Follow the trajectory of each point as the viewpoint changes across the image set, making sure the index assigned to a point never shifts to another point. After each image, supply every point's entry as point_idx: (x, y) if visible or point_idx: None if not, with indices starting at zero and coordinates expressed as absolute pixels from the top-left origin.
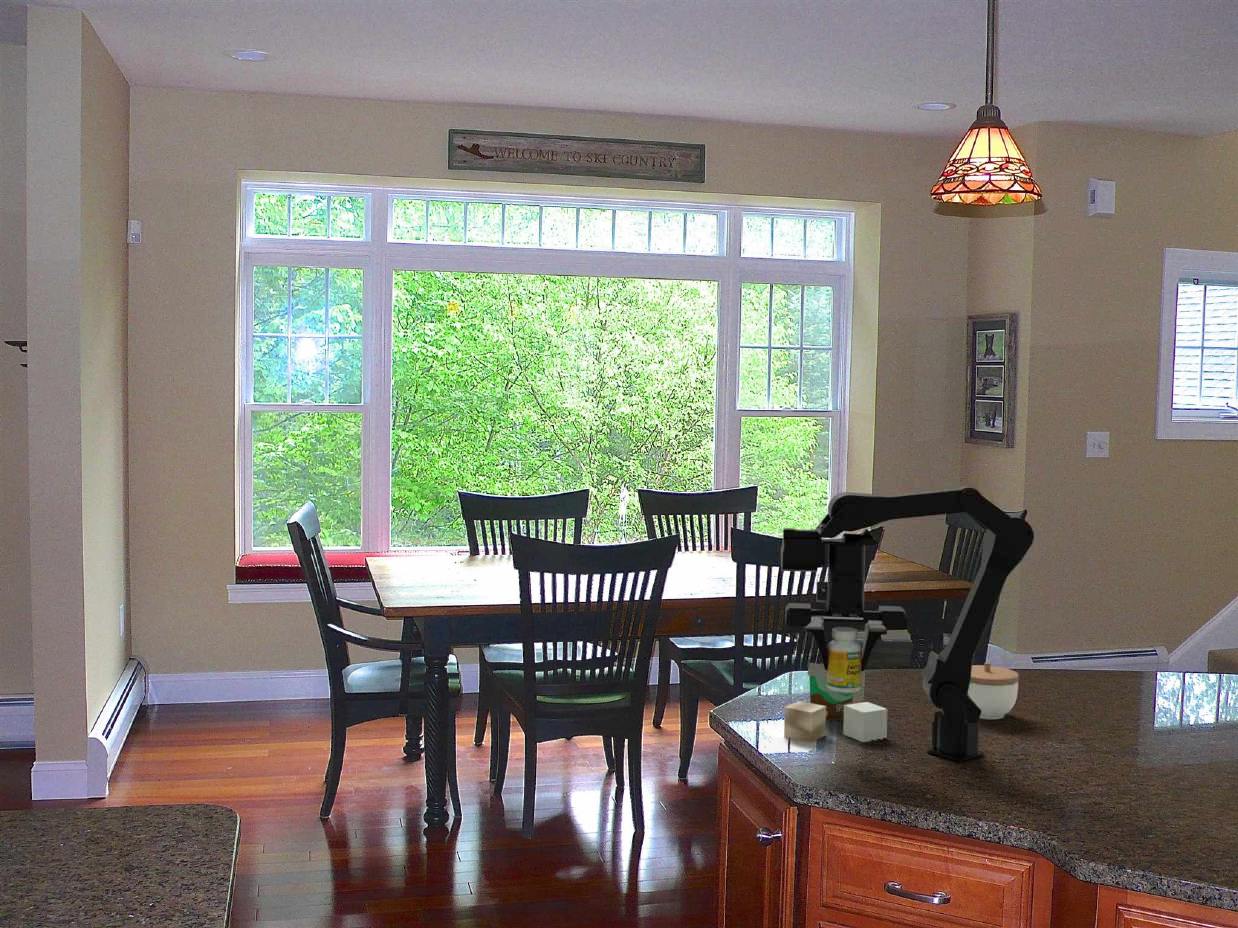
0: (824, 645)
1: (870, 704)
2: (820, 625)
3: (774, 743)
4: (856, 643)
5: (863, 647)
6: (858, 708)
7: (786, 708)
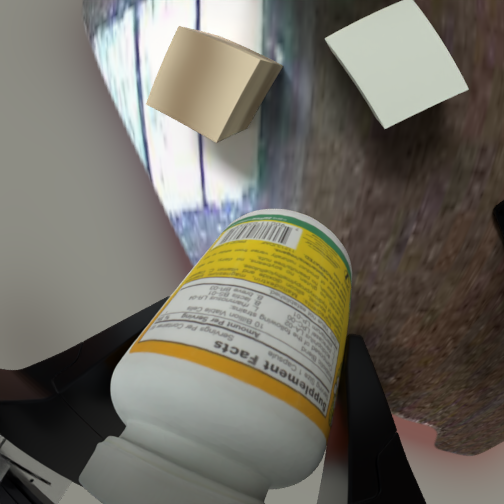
0: (123, 429)
1: (420, 29)
2: (64, 486)
3: (174, 152)
4: (272, 488)
5: (337, 457)
6: (374, 77)
7: (151, 105)
